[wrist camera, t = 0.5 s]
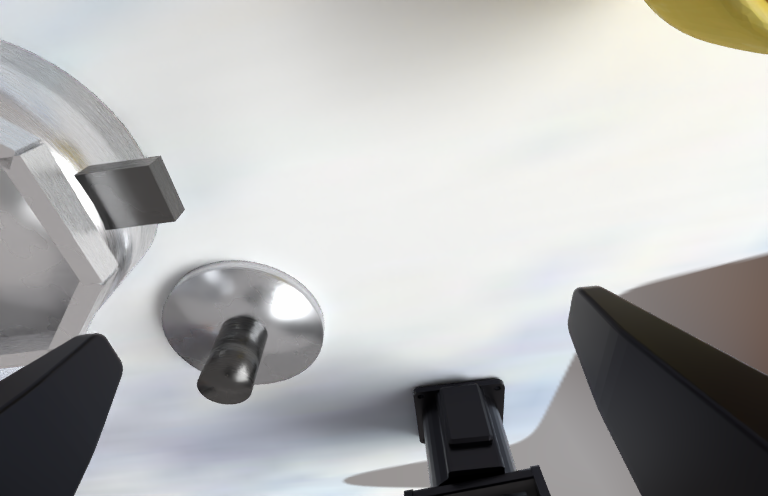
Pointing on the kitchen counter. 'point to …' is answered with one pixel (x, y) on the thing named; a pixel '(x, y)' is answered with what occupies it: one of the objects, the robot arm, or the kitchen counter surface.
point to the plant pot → (719, 21)
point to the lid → (242, 327)
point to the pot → (66, 205)
